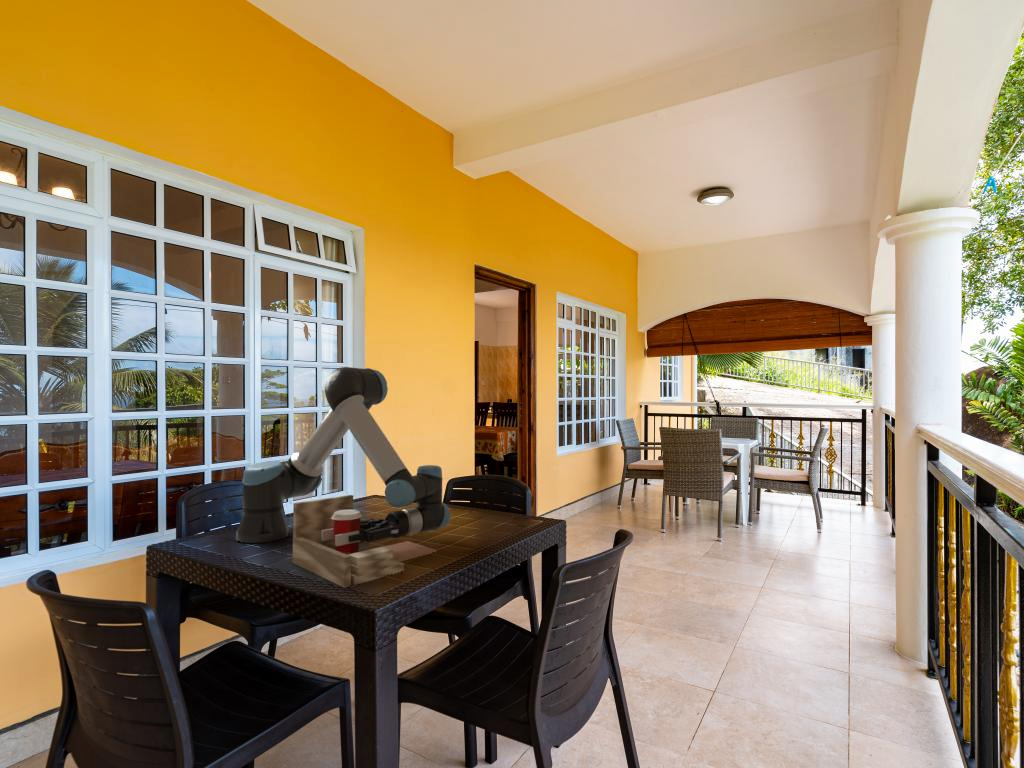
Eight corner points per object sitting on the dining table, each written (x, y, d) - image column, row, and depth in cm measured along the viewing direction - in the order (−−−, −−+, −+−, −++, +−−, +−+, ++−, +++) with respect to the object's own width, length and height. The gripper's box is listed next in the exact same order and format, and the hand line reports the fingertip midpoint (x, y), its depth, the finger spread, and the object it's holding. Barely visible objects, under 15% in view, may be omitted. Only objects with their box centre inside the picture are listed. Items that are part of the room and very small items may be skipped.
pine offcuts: (392, 567, 142) (392, 544, 142) (404, 571, 138) (404, 548, 138) (343, 580, 132) (343, 555, 132) (355, 585, 128) (355, 560, 128)
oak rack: (350, 549, 158) (350, 494, 158) (405, 570, 139) (405, 508, 139) (292, 562, 146) (293, 503, 146) (344, 587, 127) (344, 519, 127)
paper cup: (356, 558, 149) (356, 507, 150) (365, 566, 143) (365, 512, 143) (327, 563, 145) (327, 511, 145) (335, 571, 139) (335, 516, 139)
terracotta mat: (407, 543, 165) (407, 541, 165) (436, 552, 156) (436, 550, 156) (367, 552, 155) (367, 550, 155) (395, 562, 146) (395, 560, 146)
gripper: (423, 542, 150) (347, 560, 134) (384, 530, 164) (311, 545, 147) (423, 515, 150) (348, 530, 134) (384, 505, 164) (311, 517, 147)
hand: (328, 538), depth 140 cm, fingers closed on paper cup, 7 cm apart
